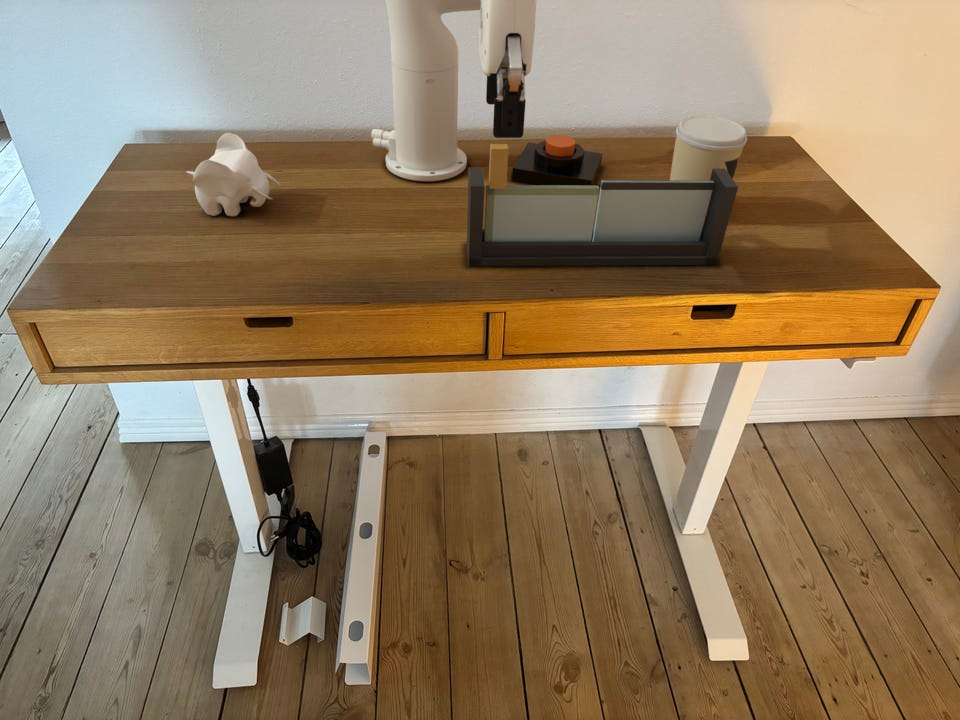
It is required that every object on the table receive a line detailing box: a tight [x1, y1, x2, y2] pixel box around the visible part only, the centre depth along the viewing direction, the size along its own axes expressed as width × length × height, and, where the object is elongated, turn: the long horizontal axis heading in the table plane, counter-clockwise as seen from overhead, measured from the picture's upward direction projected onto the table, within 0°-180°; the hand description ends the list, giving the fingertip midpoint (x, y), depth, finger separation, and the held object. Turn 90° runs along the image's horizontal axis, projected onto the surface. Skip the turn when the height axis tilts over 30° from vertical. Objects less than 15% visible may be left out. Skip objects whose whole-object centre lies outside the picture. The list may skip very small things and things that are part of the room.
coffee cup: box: [669, 114, 748, 181], centre depth 102 cm, size 9×9×12 cm
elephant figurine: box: [186, 132, 282, 217], centre depth 99 cm, size 10×12×9 cm
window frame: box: [466, 167, 739, 267], centre depth 92 cm, size 32×5×11 cm, turn 94°
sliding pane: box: [483, 143, 600, 242], centre depth 89 cm, size 14×1×14 cm, turn 94°
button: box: [545, 134, 576, 157], centre depth 110 cm, size 4×4×2 cm
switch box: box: [511, 139, 604, 185], centre depth 112 cm, size 12×10×4 cm
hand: (503, 119), depth 82 cm, fingers open, 9 cm apart
